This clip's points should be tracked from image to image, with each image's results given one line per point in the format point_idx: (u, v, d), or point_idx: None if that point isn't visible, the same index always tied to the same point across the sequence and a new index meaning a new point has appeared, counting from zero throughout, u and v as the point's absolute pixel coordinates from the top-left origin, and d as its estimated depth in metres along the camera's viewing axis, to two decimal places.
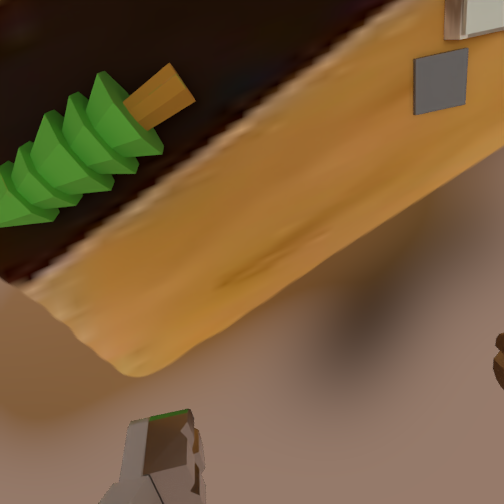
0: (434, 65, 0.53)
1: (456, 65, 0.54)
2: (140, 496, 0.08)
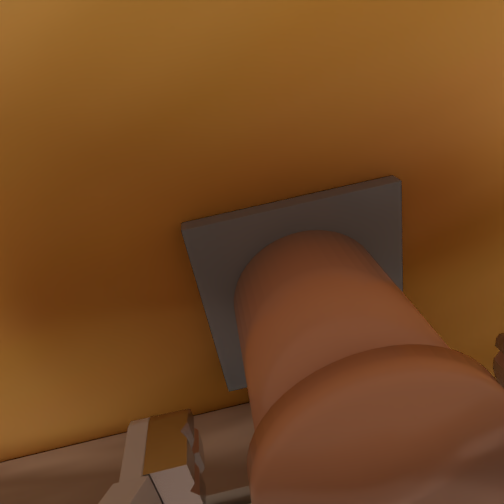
0: None
1: None
2: (140, 496, 0.08)
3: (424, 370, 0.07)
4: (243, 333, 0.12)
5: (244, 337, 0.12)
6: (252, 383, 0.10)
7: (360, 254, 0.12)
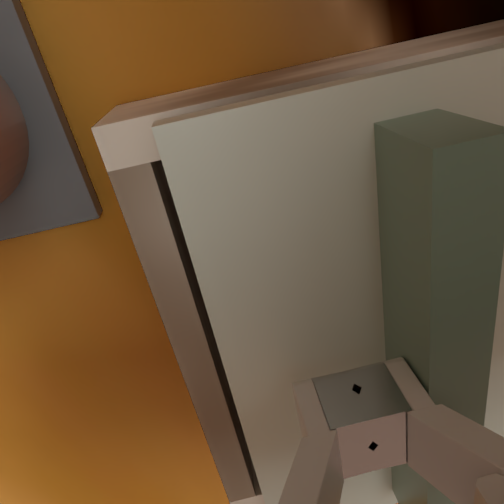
0: None
1: (20, 187, 0.12)
2: (333, 449, 0.08)
3: None
4: None
5: None
6: None
7: None
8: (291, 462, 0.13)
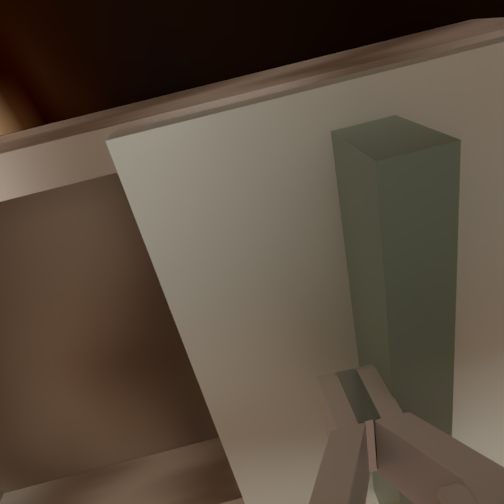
0: None
1: None
2: (362, 442, 0.09)
3: None
4: None
5: None
6: None
7: None
8: (270, 466, 0.13)
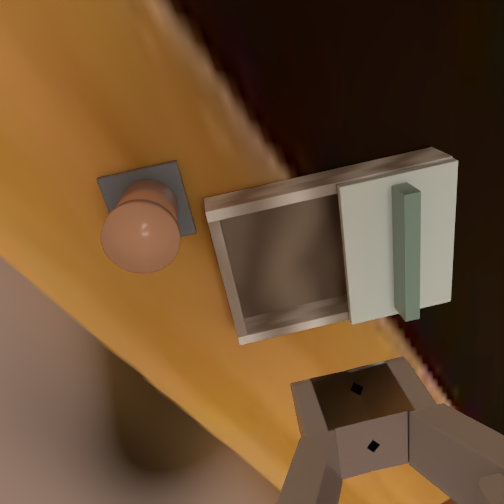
0: None
1: None
2: (332, 449, 0.08)
3: None
4: None
5: None
6: None
7: None
8: (361, 291, 0.40)
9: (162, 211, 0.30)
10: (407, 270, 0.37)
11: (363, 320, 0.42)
